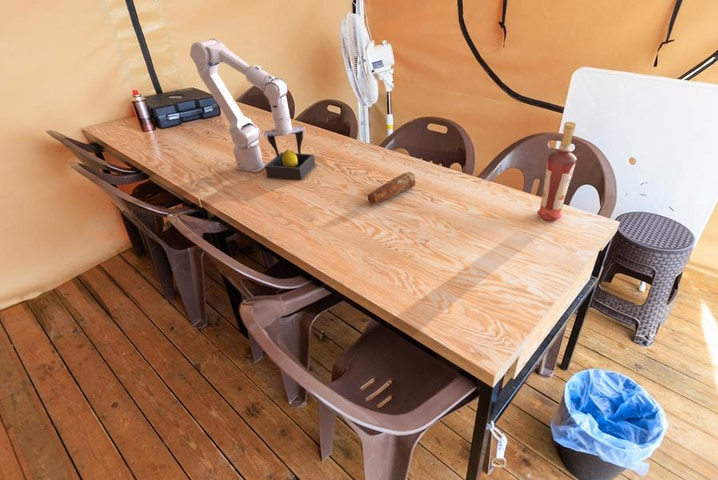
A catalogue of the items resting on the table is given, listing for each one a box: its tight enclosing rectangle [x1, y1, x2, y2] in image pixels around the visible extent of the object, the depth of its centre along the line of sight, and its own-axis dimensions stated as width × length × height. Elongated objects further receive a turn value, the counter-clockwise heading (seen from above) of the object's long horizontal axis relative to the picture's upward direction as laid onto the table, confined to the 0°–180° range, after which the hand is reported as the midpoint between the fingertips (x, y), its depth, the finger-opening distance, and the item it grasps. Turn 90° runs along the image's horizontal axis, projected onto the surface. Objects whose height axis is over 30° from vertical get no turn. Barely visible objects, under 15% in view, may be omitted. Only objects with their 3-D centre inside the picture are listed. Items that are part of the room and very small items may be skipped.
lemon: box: [282, 149, 298, 167], centre depth 150 cm, size 6×6×8 cm
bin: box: [264, 152, 316, 181], centre depth 151 cm, size 14×14×4 cm
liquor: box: [537, 121, 577, 222], centre depth 112 cm, size 7×7×28 cm
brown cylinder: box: [367, 171, 416, 206], centre depth 133 cm, size 6×19×6 cm, turn 133°
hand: (288, 154), depth 148 cm, fingers open, 7 cm apart
